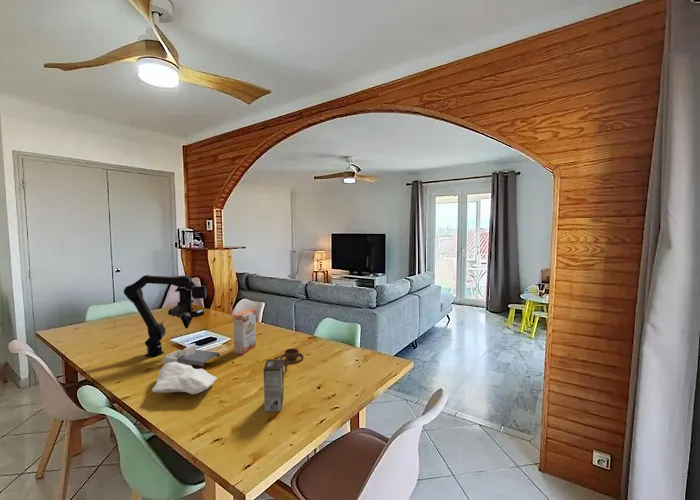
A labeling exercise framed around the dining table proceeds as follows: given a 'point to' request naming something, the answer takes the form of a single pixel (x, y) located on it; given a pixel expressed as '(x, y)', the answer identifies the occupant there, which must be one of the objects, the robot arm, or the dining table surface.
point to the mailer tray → (173, 357)
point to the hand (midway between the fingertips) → (186, 328)
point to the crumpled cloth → (182, 379)
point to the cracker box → (244, 331)
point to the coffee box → (273, 385)
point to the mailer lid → (196, 356)
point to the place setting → (290, 357)
